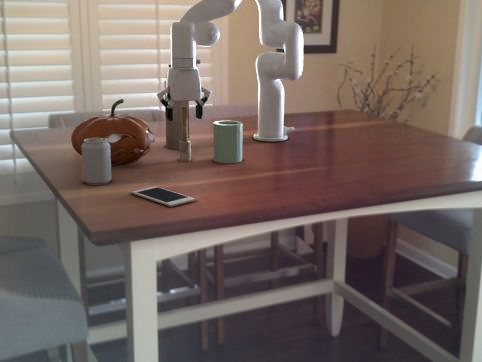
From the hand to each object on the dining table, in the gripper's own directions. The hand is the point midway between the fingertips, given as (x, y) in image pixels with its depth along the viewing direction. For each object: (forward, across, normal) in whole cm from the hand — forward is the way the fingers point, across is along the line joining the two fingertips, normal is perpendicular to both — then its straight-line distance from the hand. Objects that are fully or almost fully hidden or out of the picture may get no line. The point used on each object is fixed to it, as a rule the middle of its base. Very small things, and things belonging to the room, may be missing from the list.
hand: (184, 119), depth 207 cm
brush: (+13, 0, 0) cm, 13 cm away
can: (+13, +32, +14) cm, 37 cm away
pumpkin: (+13, +20, -8) cm, 25 cm away
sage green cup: (+13, -12, +6) cm, 19 cm away
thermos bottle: (+13, -6, -20) cm, 25 cm away
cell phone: (+13, +22, +36) cm, 44 cm away
